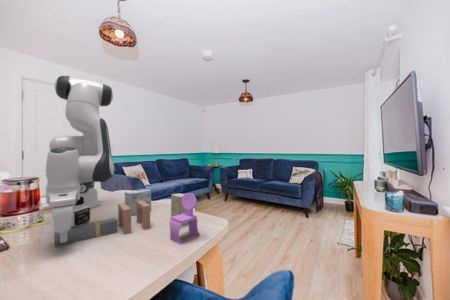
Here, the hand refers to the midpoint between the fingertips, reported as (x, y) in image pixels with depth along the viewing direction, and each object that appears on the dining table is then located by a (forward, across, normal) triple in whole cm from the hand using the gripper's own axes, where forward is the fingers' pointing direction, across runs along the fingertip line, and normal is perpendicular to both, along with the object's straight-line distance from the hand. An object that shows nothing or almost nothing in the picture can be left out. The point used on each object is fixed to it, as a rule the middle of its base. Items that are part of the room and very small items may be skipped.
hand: (64, 237), depth 66 cm
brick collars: (+2, 0, +22) cm, 22 cm away
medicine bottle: (+2, -17, +3) cm, 18 cm away
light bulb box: (+2, -19, +28) cm, 34 cm away
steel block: (+2, 0, +7) cm, 7 cm away
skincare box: (+2, +9, +37) cm, 38 cm away
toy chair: (+2, +22, +33) cm, 40 cm away
